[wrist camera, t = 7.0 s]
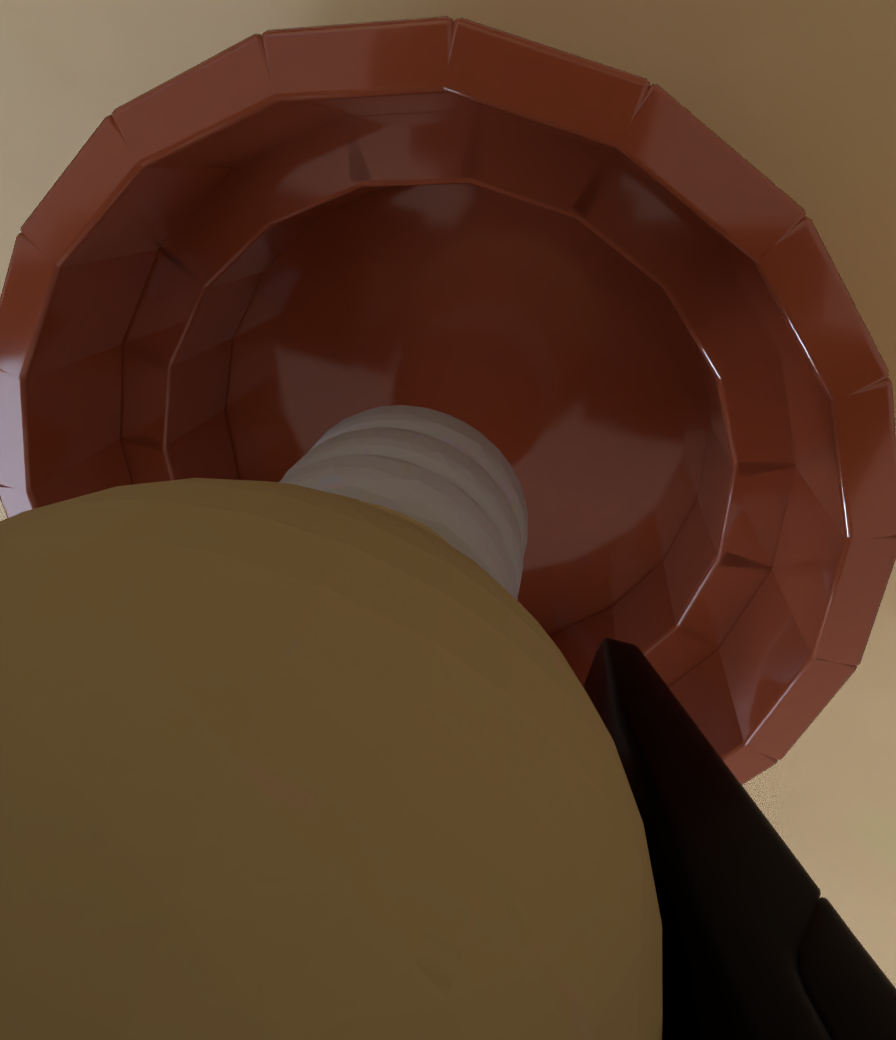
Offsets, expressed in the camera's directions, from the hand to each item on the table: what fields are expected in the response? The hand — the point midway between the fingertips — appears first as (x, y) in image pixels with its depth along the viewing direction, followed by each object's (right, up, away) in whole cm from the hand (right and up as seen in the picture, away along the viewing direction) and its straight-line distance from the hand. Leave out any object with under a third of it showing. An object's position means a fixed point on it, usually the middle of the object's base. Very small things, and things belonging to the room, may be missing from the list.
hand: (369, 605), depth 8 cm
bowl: (+1, +3, +5) cm, 6 cm away
